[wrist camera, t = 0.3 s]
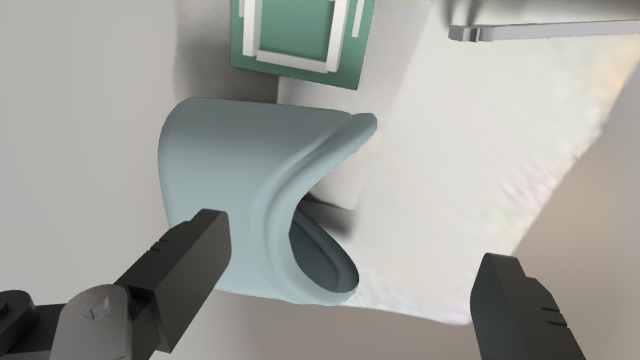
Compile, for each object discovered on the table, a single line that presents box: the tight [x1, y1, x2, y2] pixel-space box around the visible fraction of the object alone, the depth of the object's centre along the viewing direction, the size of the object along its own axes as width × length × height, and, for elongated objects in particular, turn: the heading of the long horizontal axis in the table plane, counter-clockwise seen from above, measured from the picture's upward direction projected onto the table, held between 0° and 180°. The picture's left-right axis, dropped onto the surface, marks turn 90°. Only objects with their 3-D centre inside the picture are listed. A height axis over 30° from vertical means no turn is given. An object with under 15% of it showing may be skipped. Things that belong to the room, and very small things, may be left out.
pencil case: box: [158, 97, 377, 306], centre depth 37 cm, size 22×19×13 cm
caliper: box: [448, 19, 640, 42], centre depth 27 cm, size 20×1×6 cm, turn 92°
